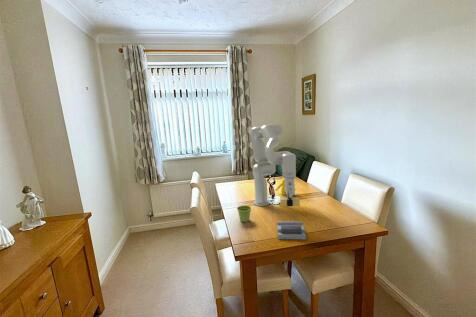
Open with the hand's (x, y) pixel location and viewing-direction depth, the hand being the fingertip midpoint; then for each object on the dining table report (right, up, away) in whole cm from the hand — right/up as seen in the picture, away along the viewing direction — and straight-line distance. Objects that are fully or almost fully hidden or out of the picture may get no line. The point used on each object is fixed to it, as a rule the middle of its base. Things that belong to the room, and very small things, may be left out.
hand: (289, 204), depth 136 cm
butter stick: (0, 0, 0) cm, 0 cm away
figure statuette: (+10, -4, +61) cm, 62 cm away
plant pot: (-26, -14, +16) cm, 34 cm away
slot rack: (0, -16, -2) cm, 16 cm away
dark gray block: (0, -15, -6) cm, 17 cm away
